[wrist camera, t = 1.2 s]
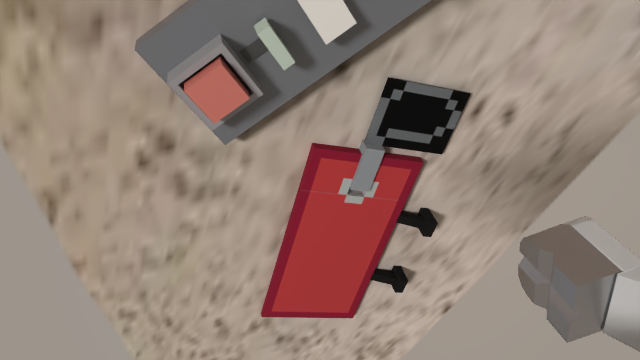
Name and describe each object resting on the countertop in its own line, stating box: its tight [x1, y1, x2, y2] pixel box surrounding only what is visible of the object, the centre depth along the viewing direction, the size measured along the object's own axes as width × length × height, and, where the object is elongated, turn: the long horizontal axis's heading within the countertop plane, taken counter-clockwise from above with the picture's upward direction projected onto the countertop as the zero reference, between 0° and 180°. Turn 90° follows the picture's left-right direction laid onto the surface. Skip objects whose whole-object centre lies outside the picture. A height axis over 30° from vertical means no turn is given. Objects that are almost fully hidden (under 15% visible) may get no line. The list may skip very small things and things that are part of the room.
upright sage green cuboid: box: [254, 18, 295, 70], centre depth 34 cm, size 1×3×2 cm, turn 32°
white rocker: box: [297, 0, 356, 45], centre depth 34 cm, size 3×4×1 cm, turn 32°
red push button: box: [184, 57, 250, 124], centre depth 34 cm, size 3×3×2 cm
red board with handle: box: [261, 77, 470, 318], centre depth 50 cm, size 30×3×15 cm
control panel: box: [135, 0, 431, 145], centre depth 35 cm, size 22×10×4 cm, turn 122°
